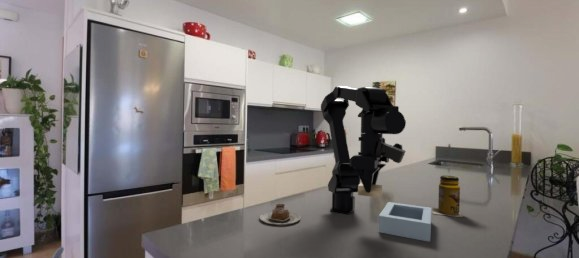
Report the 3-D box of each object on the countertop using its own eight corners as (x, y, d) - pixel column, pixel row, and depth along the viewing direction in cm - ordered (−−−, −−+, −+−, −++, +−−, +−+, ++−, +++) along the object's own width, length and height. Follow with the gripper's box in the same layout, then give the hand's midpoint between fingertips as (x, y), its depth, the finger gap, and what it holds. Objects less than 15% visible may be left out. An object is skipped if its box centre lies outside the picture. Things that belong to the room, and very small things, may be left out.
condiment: (463, 217, 86) (464, 179, 86) (433, 214, 89) (434, 177, 89) (456, 211, 93) (457, 175, 93) (429, 208, 96) (429, 173, 96)
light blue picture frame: (378, 232, 72) (378, 215, 72) (388, 215, 86) (388, 201, 86) (430, 241, 66) (430, 223, 66) (431, 222, 80) (431, 207, 80)
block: (357, 195, 74) (358, 185, 74) (359, 192, 78) (359, 183, 78) (381, 197, 72) (381, 187, 72) (382, 194, 76) (382, 185, 76)
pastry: (308, 219, 82) (308, 204, 82) (283, 231, 72) (284, 213, 72) (276, 212, 89) (277, 197, 89) (250, 221, 79) (251, 205, 79)
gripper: (396, 134, 63) (395, 202, 63) (408, 134, 79) (406, 188, 79) (349, 133, 69) (348, 196, 69) (368, 133, 85) (367, 184, 85)
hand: (370, 190), depth 75 cm, fingers closed on block, 4 cm apart
